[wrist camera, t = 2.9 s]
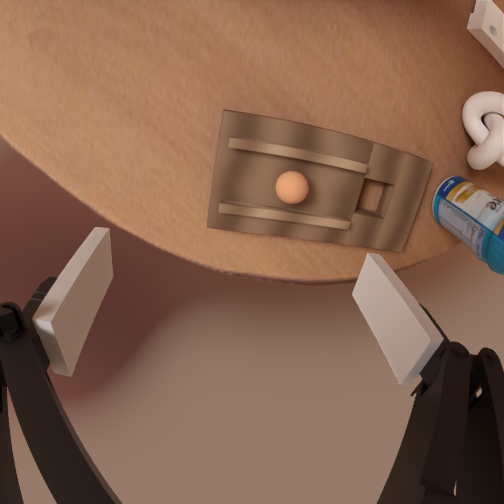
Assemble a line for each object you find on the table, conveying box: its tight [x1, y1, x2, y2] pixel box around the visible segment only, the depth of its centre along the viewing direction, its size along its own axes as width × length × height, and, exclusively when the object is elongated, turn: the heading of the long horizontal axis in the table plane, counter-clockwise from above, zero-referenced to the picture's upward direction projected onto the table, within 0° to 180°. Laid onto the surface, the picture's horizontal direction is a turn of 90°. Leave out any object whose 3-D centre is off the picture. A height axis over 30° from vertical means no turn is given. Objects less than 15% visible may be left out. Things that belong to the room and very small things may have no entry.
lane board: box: [207, 110, 433, 252], centre depth 33 cm, size 26×13×4 cm, turn 80°
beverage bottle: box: [432, 176, 504, 275], centre depth 29 cm, size 8×8×20 cm
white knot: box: [462, 91, 504, 170], centre depth 28 cm, size 11×12×9 cm
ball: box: [276, 171, 309, 204], centre depth 31 cm, size 3×3×3 cm
